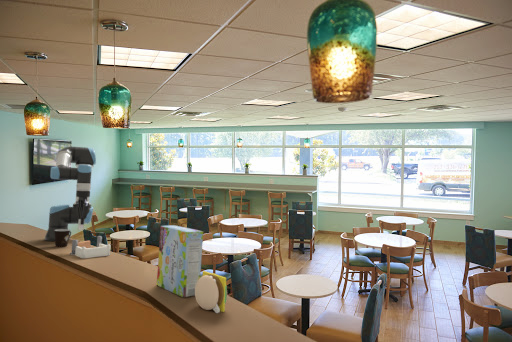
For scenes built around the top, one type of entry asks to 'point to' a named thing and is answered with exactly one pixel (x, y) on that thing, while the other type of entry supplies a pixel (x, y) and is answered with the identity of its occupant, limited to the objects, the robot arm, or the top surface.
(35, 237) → the top surface
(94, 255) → the paddock fence
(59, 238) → the coffee mug
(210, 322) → the top surface
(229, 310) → the top surface
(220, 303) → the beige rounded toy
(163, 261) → the snack box
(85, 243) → the gate
